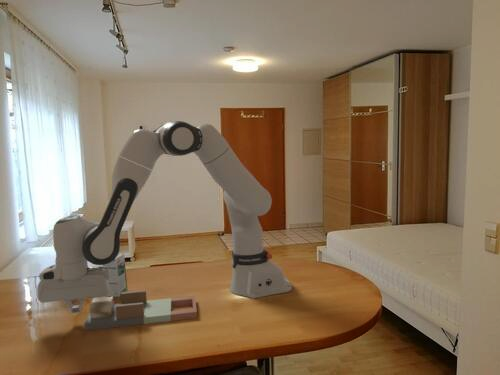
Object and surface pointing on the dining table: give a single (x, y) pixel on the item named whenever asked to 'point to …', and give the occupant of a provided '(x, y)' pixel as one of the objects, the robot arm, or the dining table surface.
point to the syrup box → (117, 276)
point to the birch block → (101, 307)
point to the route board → (143, 311)
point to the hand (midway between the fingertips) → (76, 312)
